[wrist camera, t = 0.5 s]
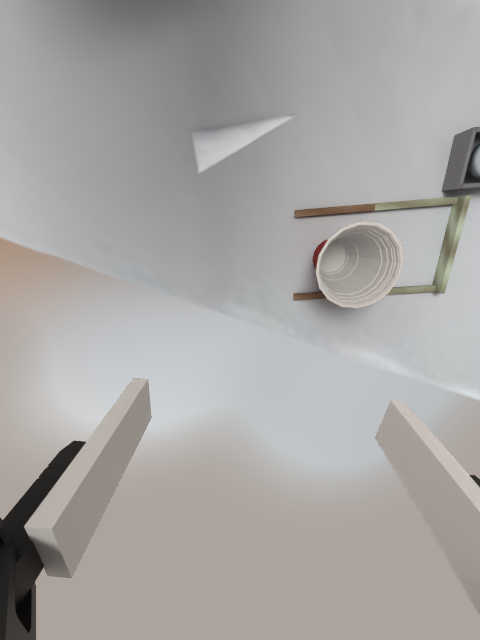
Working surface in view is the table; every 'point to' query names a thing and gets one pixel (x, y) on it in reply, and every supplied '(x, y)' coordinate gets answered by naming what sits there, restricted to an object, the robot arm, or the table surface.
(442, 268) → the u-shaped frame
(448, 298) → the table surface
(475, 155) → the dome
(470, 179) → the dome housing
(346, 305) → the plastic cup
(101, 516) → the robot arm
